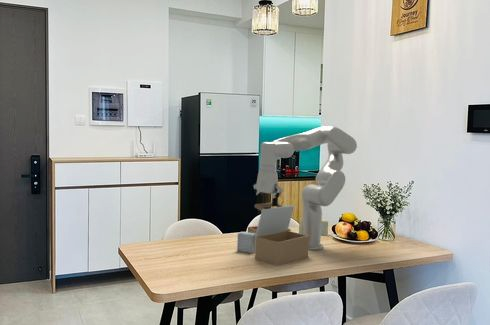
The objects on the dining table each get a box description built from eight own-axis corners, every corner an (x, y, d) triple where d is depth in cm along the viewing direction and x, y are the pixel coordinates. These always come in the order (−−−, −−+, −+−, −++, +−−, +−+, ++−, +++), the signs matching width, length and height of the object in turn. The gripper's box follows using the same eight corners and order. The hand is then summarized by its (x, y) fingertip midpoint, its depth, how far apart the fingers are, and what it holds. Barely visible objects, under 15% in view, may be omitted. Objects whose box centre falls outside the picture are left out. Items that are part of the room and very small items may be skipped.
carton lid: (256, 236, 203) (243, 228, 209) (287, 230, 219) (274, 222, 224) (263, 210, 200) (249, 202, 205) (294, 205, 215) (281, 198, 221)
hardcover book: (247, 233, 255) (248, 226, 255) (281, 231, 263) (282, 224, 262) (255, 238, 244) (256, 230, 244) (290, 236, 251) (291, 229, 251)
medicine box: (255, 251, 216) (256, 233, 216) (252, 253, 212) (252, 235, 212) (240, 248, 220) (241, 231, 219) (236, 251, 216) (237, 233, 215)
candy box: (327, 235, 257) (328, 220, 257) (327, 236, 255) (328, 221, 255) (298, 233, 259) (299, 219, 258) (298, 234, 257) (299, 219, 256)
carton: (255, 258, 204) (256, 236, 203) (286, 250, 219) (287, 230, 219) (277, 265, 195) (278, 242, 194) (308, 257, 210) (309, 235, 209)
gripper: (249, 167, 215) (248, 203, 217) (277, 170, 203) (275, 208, 204) (260, 166, 220) (259, 201, 222) (287, 169, 208) (286, 206, 210)
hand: (267, 204), depth 213 cm, fingers open, 9 cm apart
